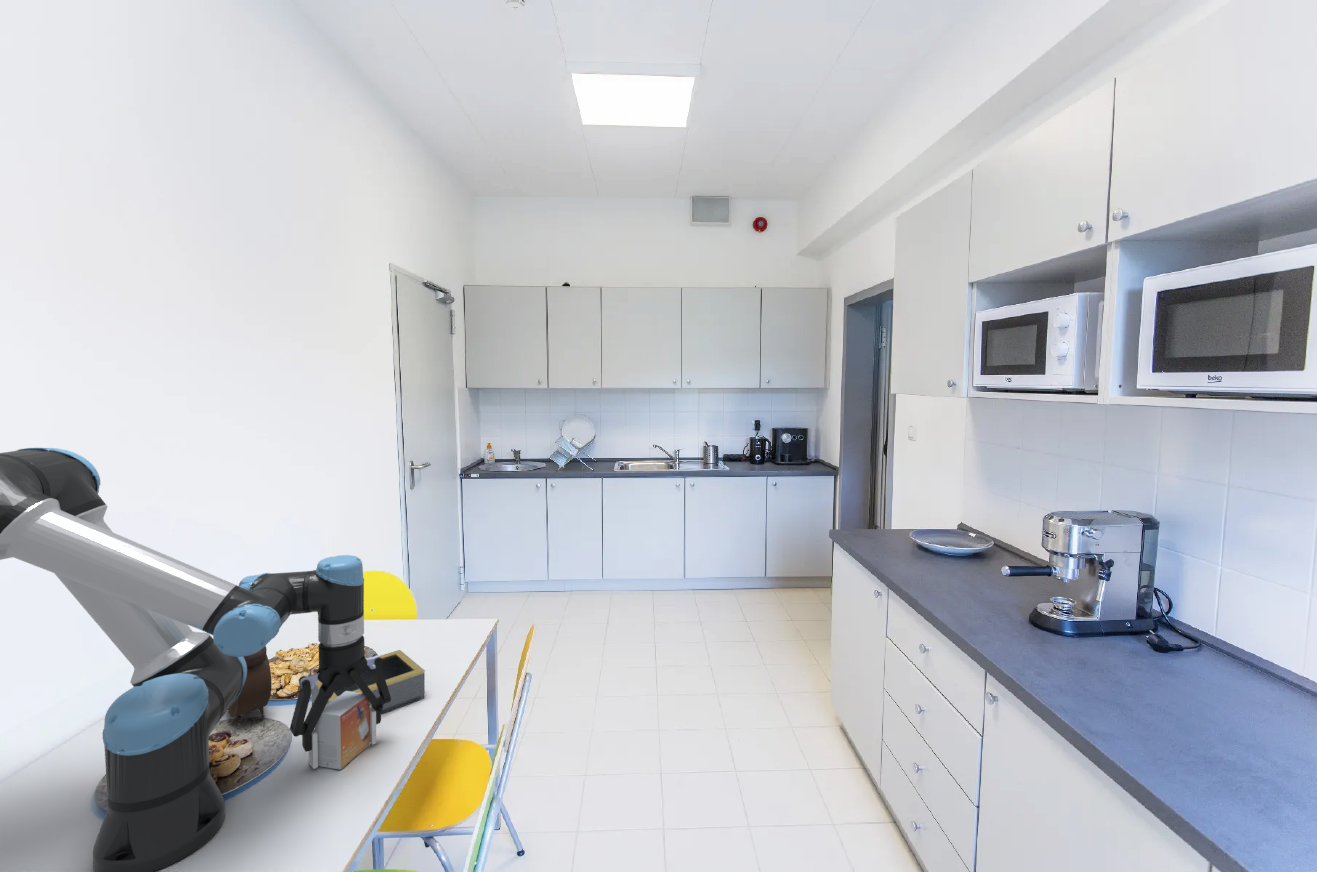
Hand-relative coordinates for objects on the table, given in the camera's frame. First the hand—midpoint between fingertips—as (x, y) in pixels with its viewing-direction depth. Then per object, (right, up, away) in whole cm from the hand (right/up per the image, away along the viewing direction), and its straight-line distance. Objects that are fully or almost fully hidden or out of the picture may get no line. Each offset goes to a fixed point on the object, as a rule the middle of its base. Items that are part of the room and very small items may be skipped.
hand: (343, 752), depth 106 cm
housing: (-5, +1, +18) cm, 19 cm away
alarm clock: (-28, +1, +13) cm, 31 cm away
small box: (0, -1, 0) cm, 1 cm away
